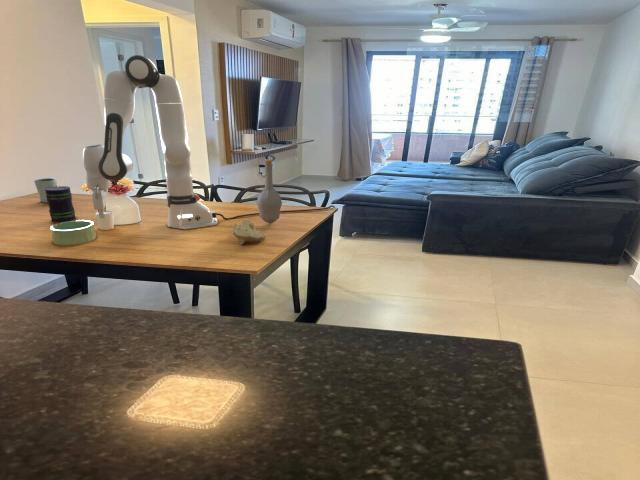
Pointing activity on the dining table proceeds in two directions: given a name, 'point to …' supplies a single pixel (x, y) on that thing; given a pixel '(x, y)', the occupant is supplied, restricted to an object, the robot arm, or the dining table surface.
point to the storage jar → (60, 204)
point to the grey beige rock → (247, 232)
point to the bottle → (269, 198)
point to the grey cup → (44, 187)
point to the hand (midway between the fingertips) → (103, 215)
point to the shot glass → (106, 220)
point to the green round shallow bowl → (73, 232)
